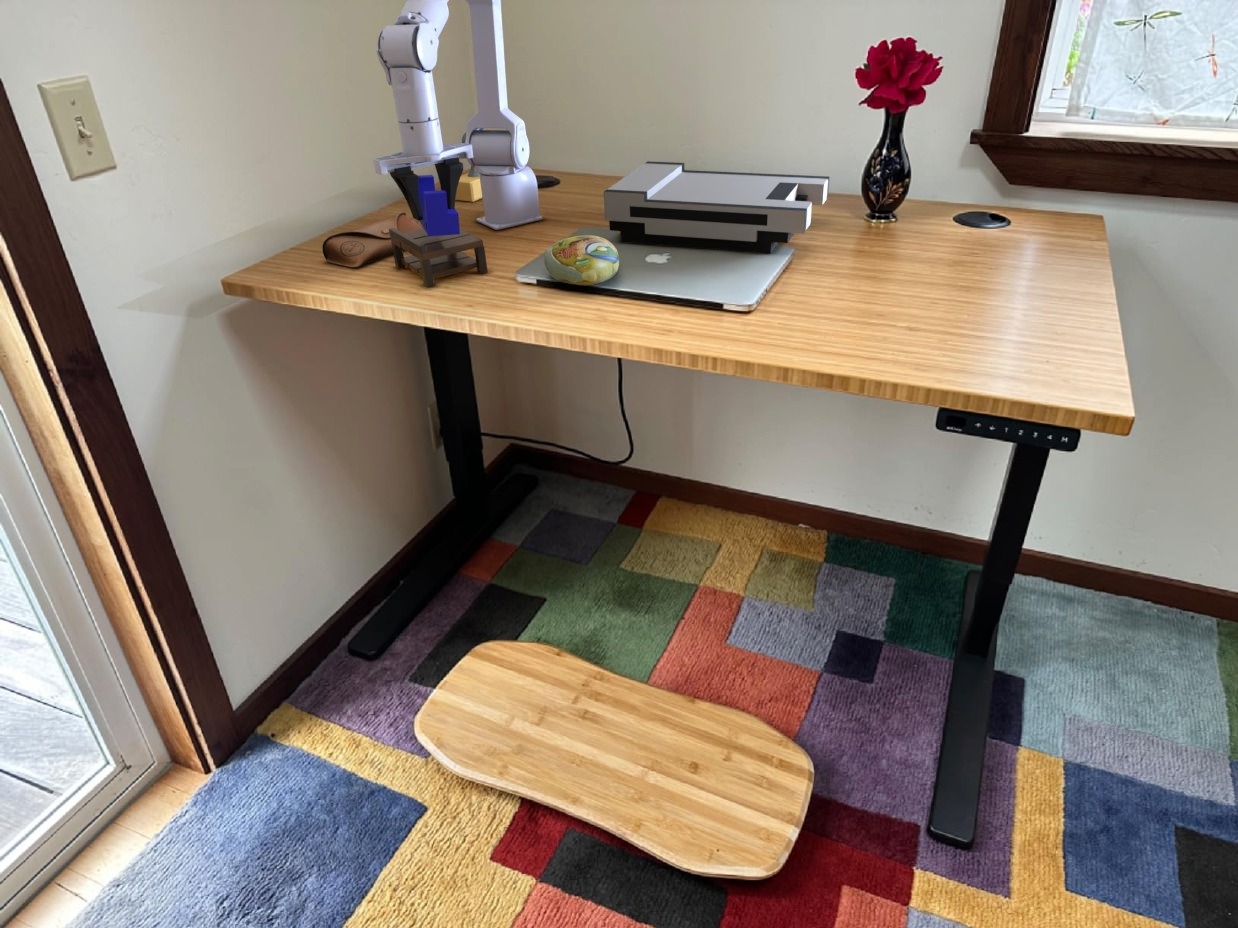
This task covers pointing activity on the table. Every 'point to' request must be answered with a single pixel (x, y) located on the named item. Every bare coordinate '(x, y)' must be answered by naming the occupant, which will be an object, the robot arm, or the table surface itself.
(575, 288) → the table surface
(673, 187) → the game console
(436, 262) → the rack
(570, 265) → the cell model
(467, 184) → the rubber stamp
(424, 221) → the blue stepped block
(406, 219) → the sunglasses case
